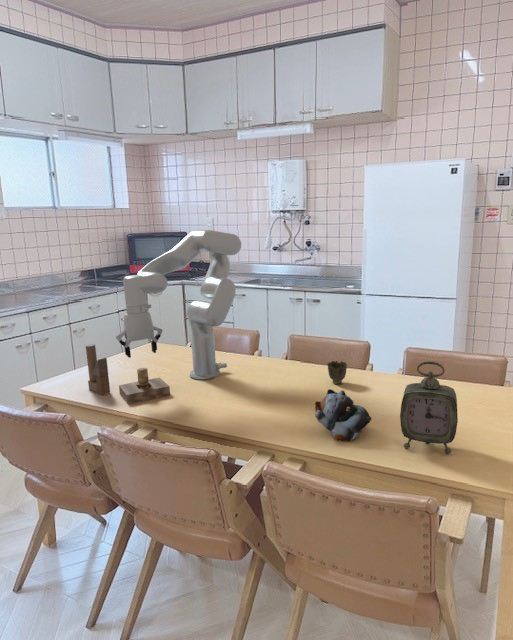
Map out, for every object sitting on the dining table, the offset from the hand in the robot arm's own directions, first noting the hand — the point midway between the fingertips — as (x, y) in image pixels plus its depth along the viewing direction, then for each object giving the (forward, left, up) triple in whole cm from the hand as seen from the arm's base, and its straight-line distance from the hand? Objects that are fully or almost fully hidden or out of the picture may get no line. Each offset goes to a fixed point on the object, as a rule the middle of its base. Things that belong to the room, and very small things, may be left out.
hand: (141, 354), depth 182 cm
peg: (0, 0, -16) cm, 16 cm away
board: (0, 0, -16) cm, 16 cm away
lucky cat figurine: (-42, +66, -16) cm, 80 cm away
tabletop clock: (-56, +86, -16) cm, 104 cm away
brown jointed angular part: (+14, -14, -16) cm, 26 cm away
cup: (-67, +31, -16) cm, 75 cm away
